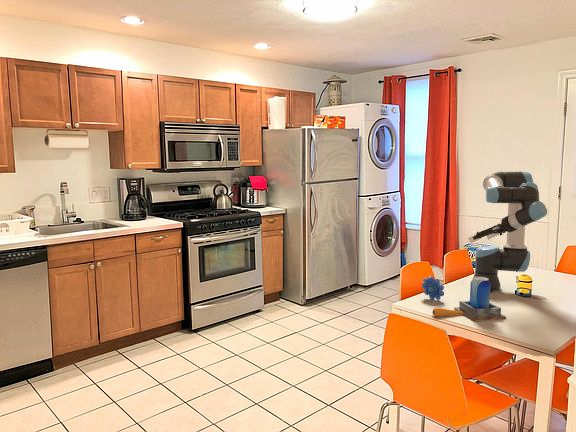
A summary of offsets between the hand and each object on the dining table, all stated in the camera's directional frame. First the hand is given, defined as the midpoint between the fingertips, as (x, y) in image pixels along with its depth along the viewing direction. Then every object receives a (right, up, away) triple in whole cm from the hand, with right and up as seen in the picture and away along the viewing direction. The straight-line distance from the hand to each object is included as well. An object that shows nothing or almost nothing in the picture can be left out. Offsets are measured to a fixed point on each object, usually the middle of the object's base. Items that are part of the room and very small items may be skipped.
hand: (478, 238), depth 226 cm
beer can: (-7, -33, -18) cm, 38 cm away
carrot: (-20, -35, -19) cm, 44 cm away
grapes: (-23, -32, +4) cm, 39 cm away
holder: (-7, -34, -18) cm, 39 cm away
